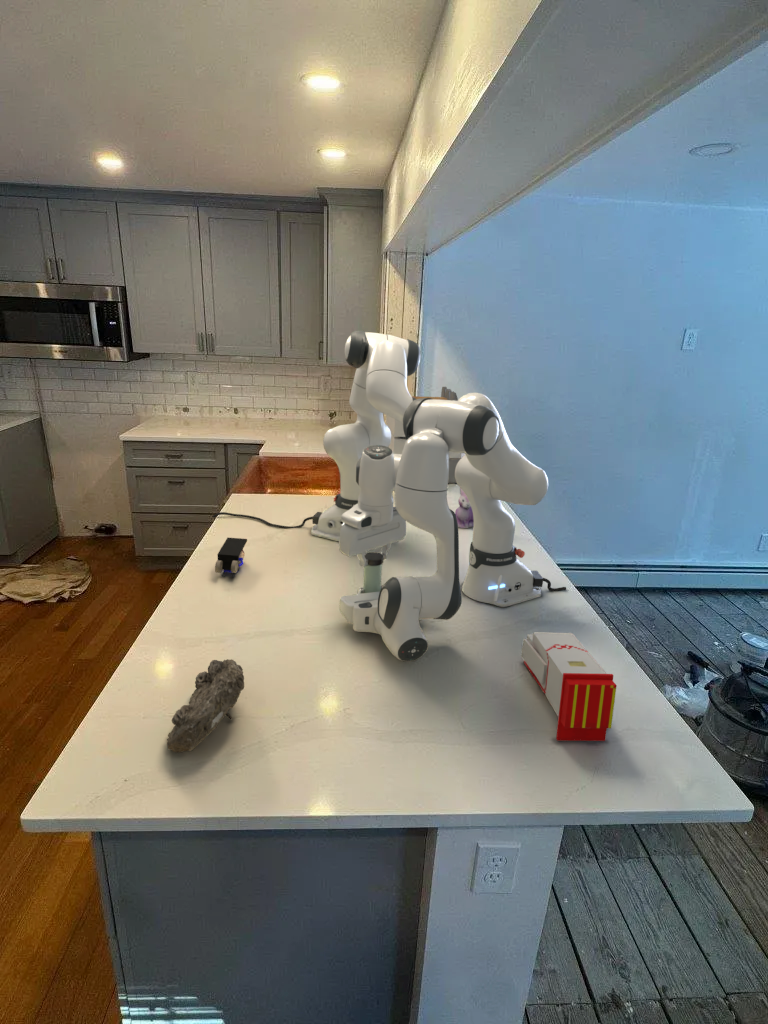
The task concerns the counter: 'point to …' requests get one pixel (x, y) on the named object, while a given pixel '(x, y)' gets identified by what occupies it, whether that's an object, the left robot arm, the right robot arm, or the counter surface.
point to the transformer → (400, 440)
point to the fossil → (206, 705)
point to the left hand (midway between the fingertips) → (373, 562)
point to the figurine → (464, 512)
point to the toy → (571, 685)
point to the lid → (374, 558)
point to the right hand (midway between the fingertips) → (370, 589)
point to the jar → (372, 578)
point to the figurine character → (230, 556)
